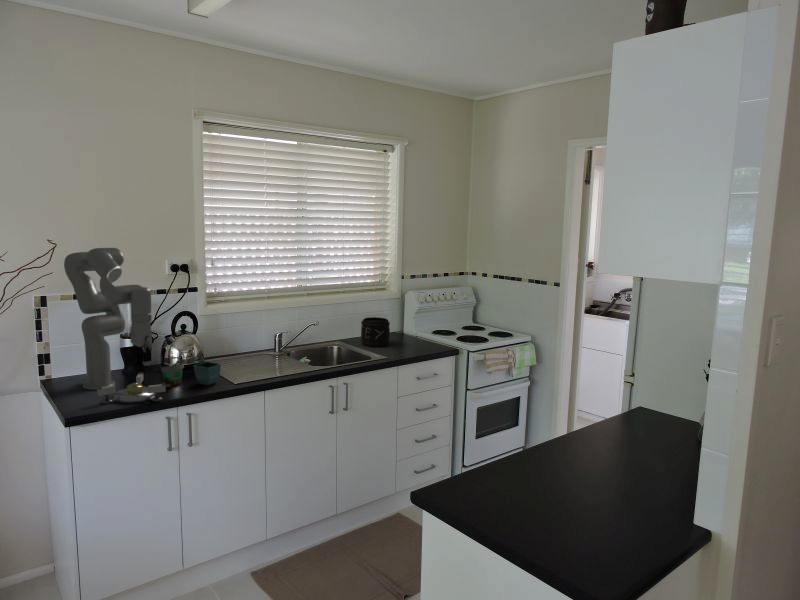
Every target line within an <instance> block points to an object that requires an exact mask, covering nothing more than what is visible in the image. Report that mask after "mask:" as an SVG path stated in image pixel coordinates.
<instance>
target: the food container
mask: <svg viewBox="0 0 800 600" xmlns="http://www.w3.org/2000/svg"><path fill="white" fill-rule="evenodd" d="M184 368H185V366H184V363H183V361H181V360H176V362H175V363H171V364H169V365H167V366H161V373H162V374H161V375H162V383H165V387H166V389H173V388H172V387H175V388H178V387H177V386H179V387H180V385H181V386H182V384H183V383H182V381H183V379H182V378H183V369H184Z"/></svg>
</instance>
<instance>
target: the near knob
mask: <svg viewBox="0 0 800 600" xmlns="http://www.w3.org/2000/svg"><path fill="white" fill-rule="evenodd" d="M96 391H97V396H99V397H102V396H104V399H105V400H109V398H110V395H112V394H113V395H114V393H116V392H117V387H116V385H113V386H108V387H102V388H101V387H98V388H97V390H96Z"/></svg>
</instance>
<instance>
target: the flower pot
mask: <svg viewBox="0 0 800 600" xmlns="http://www.w3.org/2000/svg"><path fill="white" fill-rule="evenodd" d="M221 367H222V363H218V362H211V361H204V362H203V361H202V362H201V363H198V364H195V365H193V371H194V375H195V378H196V381H197V382H198V383H199V384H200V385H205V386H210V385H213V384H215V383H216V382H217V381H218V379H219V377H220V374H221Z"/></svg>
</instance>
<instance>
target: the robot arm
mask: <svg viewBox="0 0 800 600" xmlns="http://www.w3.org/2000/svg"><path fill="white" fill-rule="evenodd" d="M124 261H125V257H124V253H123V251H121V250H120V249H119V248H117V247H97V248H92V249H90V250H89V251H81V252H79V251H78V252H73V253H70V254H68V255H66V257H65V258H64V262H63V265H64V266H63V267H64V272H65V275H66V277H67V278H68V281H69V282H70V284H71V286H72V288H73V292H74V294H75V297H76V300H77V304H78V307H79V310H80V311H81V313H82V314H85V315H93V316H88V317H86V318H85V319H83V320H82V322H81V331H82V336H83V340H84V349H85V350H84V351H85V366H86V367H85V370H86V371H85V372H86V374H83V375H82V376H81V377H80V380H81V381H84V383H83V385H82V388H83V389H85V390H91V391H95V390H96V391H97V388H98V387H101V388H102V387H108V386H113V385H114V386H116V381H115V380H113V379H112V373H111V372H112V371H111V348H110V344H109V342H107V340H106V339H105V338H104V337H109V336H110V337H111V336H114V335H121V334H122V333H123V332H124V331H125V330H126V321H125V317H124V314H123V311H122V308H121V305H126V304H127V305H128V304H130V317H131V318H130V321H131V322H130V323H131V324H130V325H131V326H130V343H131V344H132V357H134V358H135V357H142V362H143V363H147V362H152V351H153V350H152V349H153V341H152V340H153V339H152V327H151V322H152V290H151V289H150V288H149V287H145V286H141V285H140V284H125V285H114V284H113V283H115V282H116V281H118V280H119V279H120V277H121V276H122V272H123V271H122V268H121V266H122V265H123V264H124ZM94 271H95V272H96V274H98V276H99V278H100V279H99V289H100V291H98V289H97V287H96V286H97V285H96V283H95V281H94V280H93V278H92V277H90V276H89V275H88V274H87V273H86V272H94ZM103 313H105V314H103ZM95 314H98V315H95ZM99 314H100V315H99ZM142 351H143V352H142Z"/></svg>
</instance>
